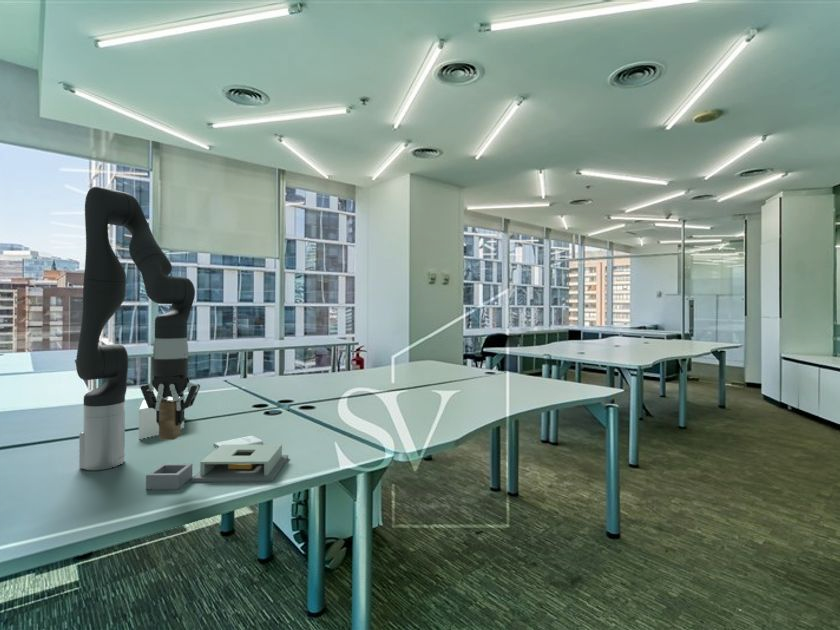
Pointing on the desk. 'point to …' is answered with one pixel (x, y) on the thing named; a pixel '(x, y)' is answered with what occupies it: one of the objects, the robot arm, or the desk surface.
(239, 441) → the external hard drive
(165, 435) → the brown block
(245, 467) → the breaker button
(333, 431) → the desk surface
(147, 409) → the white rectangular box
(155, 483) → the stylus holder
